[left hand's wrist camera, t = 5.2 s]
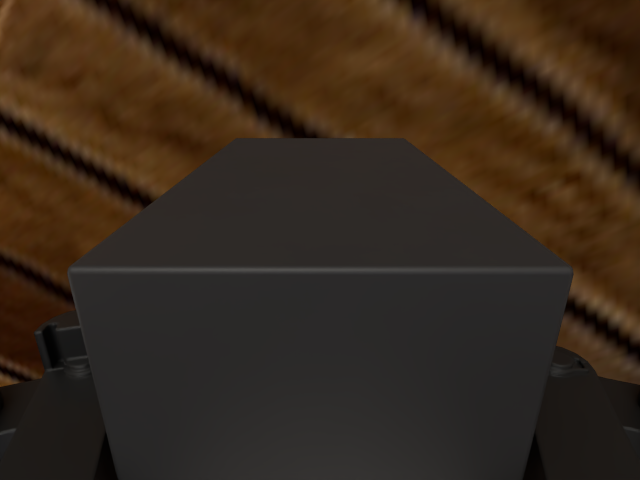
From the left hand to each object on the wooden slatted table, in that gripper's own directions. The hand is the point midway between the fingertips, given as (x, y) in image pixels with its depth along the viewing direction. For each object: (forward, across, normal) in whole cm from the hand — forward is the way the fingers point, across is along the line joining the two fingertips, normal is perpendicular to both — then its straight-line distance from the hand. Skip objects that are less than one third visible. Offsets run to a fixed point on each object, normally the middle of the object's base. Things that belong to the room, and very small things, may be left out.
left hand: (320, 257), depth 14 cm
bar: (+1, 0, -8) cm, 8 cm away
